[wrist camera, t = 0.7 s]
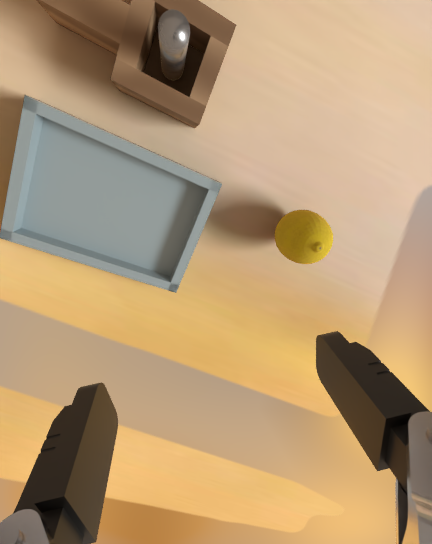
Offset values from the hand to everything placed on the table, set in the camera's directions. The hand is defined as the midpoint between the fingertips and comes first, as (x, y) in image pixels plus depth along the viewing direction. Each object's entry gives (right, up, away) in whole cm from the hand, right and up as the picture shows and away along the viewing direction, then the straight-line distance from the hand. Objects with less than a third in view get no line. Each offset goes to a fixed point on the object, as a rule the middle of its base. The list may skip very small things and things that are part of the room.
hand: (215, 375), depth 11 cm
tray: (-10, +11, +19) cm, 25 cm away
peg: (-4, +23, +15) cm, 28 cm away
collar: (-7, +24, +15) cm, 29 cm away
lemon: (+9, +9, +24) cm, 27 cm away
